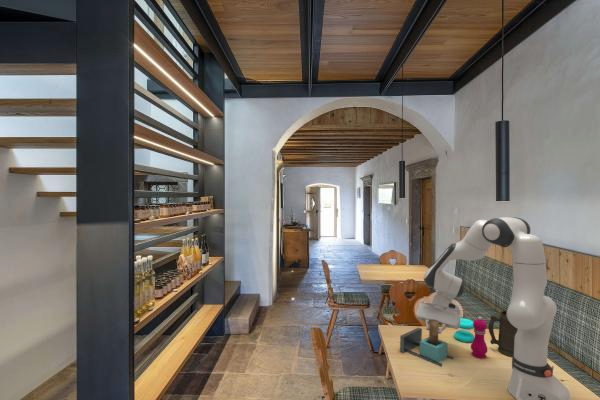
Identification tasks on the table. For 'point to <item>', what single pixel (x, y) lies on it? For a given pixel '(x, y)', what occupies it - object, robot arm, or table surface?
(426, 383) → the table surface
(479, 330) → the pepper mill
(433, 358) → the socket block
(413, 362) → the table surface
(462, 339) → the donuts
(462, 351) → the table surface
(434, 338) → the dowel
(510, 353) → the beer stein
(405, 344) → the track
